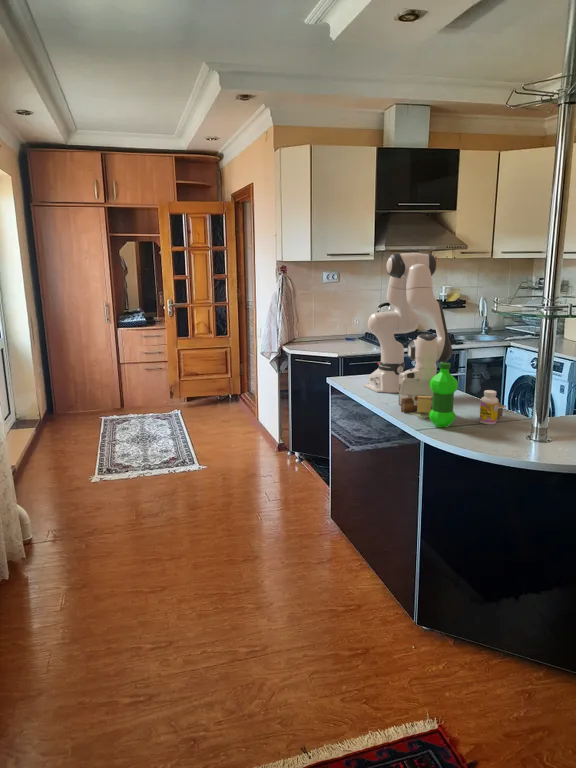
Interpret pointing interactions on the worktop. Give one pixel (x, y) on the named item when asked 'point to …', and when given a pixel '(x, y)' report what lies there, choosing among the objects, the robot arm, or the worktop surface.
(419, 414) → the pad
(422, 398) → the block
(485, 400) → the supplement bottle
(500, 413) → the platform
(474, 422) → the worktop surface
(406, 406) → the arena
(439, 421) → the plastic bottle
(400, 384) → the syrup box
